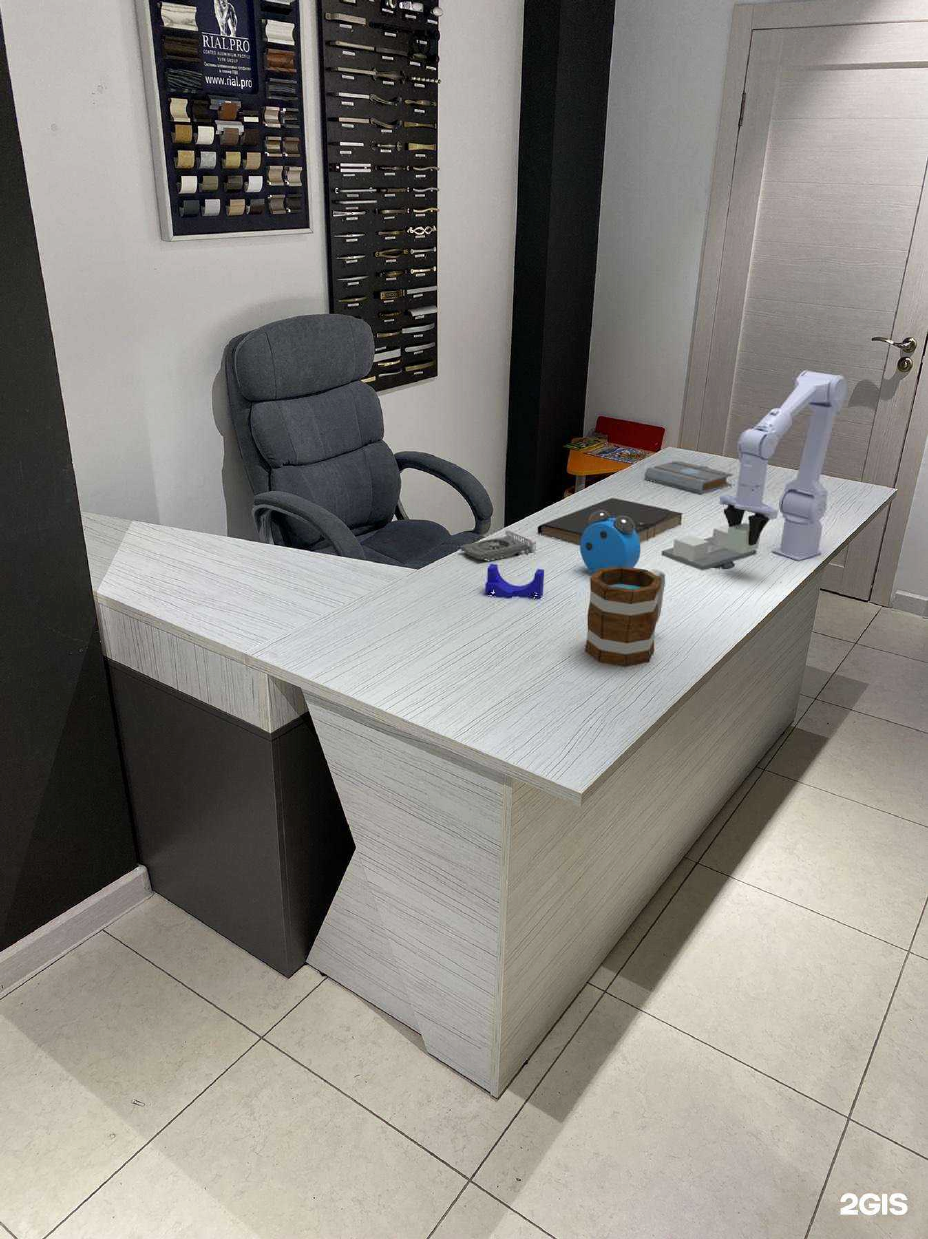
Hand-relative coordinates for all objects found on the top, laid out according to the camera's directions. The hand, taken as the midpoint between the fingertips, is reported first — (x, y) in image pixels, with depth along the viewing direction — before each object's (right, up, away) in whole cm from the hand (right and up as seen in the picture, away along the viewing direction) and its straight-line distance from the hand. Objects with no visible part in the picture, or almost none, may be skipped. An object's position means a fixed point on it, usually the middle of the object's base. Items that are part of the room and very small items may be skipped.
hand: (743, 541), depth 219 cm
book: (+5, +24, +77) cm, 81 cm away
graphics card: (-57, -2, +16) cm, 59 cm away
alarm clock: (-31, -8, +2) cm, 32 cm away
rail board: (-4, -2, +16) cm, 17 cm away
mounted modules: (-4, -2, +16) cm, 17 cm away
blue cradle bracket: (-53, -13, -9) cm, 55 cm away
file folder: (-25, +5, +34) cm, 43 cm away
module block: (0, -2, +1) cm, 2 cm away
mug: (-32, -23, -33) cm, 51 cm away
